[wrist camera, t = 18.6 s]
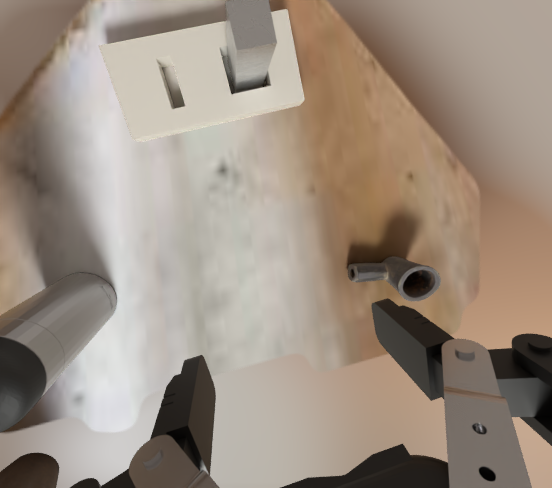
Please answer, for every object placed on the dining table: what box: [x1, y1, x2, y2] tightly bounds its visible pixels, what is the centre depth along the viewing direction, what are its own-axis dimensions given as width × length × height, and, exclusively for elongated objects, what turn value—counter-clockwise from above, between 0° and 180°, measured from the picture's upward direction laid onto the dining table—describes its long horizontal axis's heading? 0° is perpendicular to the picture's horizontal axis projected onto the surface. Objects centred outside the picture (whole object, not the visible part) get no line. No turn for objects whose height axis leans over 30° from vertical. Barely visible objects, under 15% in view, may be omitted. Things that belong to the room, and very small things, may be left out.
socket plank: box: [99, 9, 304, 142], centre depth 37 cm, size 24×11×3 cm, turn 104°
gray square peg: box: [225, 0, 277, 93], centre depth 32 cm, size 4×4×14 cm
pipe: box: [348, 257, 441, 301], centre depth 46 cm, size 6×13×8 cm, turn 89°
